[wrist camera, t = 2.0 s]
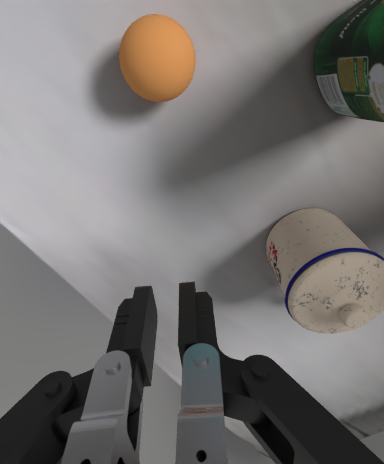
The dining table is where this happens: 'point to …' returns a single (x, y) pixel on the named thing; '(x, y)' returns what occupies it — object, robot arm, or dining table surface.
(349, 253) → the teacup with lid
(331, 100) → the coffee jar
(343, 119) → the dining table surface
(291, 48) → the dining table surface
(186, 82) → the ball
